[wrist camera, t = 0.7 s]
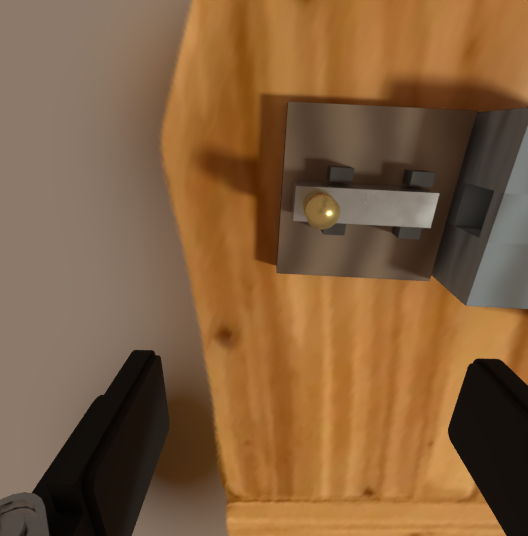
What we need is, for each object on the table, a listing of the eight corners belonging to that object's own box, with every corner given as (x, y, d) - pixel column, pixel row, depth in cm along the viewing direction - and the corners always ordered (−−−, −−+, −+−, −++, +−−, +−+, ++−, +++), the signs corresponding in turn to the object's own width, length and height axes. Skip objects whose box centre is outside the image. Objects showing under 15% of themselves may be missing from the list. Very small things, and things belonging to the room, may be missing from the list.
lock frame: (276, 265, 35) (277, 295, 28) (287, 103, 29) (291, 94, 22) (502, 277, 35) (555, 310, 28) (563, 117, 28) (648, 112, 22)
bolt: (291, 212, 30) (295, 230, 25) (293, 181, 29) (298, 192, 24) (416, 219, 30) (448, 238, 25) (423, 187, 29) (459, 200, 24)
